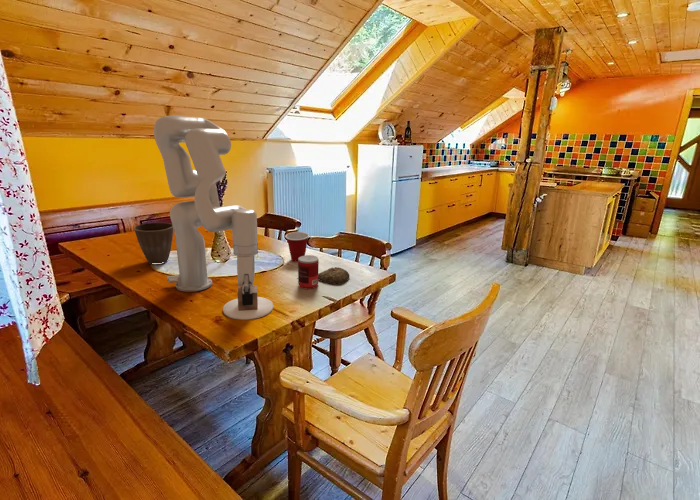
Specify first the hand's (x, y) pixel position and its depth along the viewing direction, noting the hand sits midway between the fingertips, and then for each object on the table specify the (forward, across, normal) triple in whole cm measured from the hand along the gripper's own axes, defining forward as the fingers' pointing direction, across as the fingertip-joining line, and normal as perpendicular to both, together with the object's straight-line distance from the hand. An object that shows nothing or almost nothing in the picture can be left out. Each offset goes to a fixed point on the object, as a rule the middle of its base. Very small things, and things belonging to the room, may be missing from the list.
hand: (248, 298), depth 125 cm
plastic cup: (+4, -48, +21) cm, 53 cm away
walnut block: (+3, 0, 0) cm, 3 cm away
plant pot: (+4, -53, -39) cm, 66 cm away
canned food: (+4, -17, +22) cm, 28 cm away
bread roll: (+4, -23, +34) cm, 41 cm away
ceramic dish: (+4, 0, 0) cm, 4 cm away
